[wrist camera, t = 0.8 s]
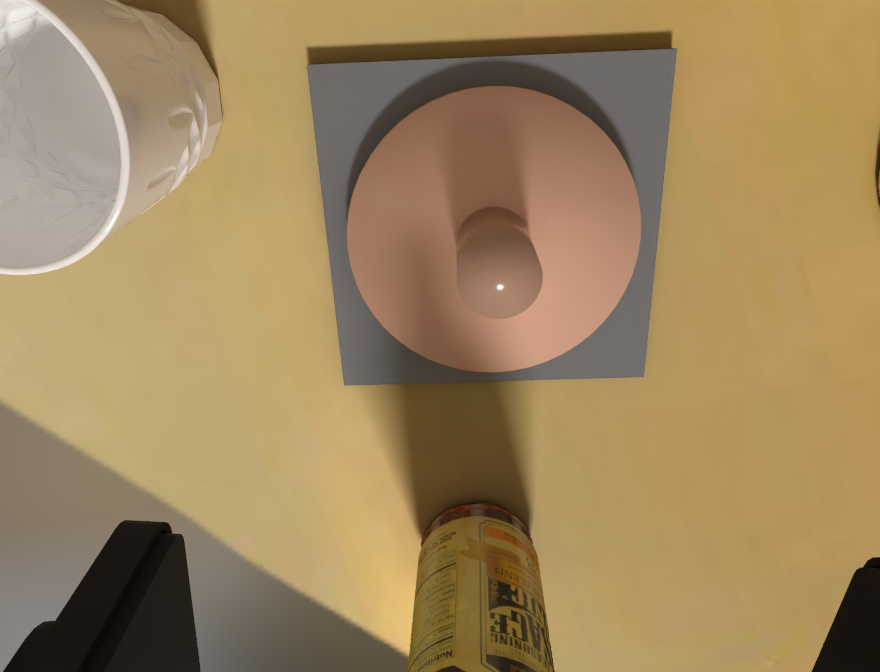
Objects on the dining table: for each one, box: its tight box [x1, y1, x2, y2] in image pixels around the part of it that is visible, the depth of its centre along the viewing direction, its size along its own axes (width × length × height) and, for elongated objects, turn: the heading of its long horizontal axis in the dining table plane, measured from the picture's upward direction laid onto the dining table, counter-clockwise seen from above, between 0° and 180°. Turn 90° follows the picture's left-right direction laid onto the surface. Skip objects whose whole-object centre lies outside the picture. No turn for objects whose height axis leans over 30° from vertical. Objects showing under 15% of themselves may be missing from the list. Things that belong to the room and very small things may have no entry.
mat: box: [307, 48, 677, 385], centre depth 28 cm, size 14×14×1 cm
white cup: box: [0, 0, 223, 275], centre depth 22 cm, size 8×8×10 cm
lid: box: [347, 85, 641, 372], centre depth 25 cm, size 12×12×5 cm
